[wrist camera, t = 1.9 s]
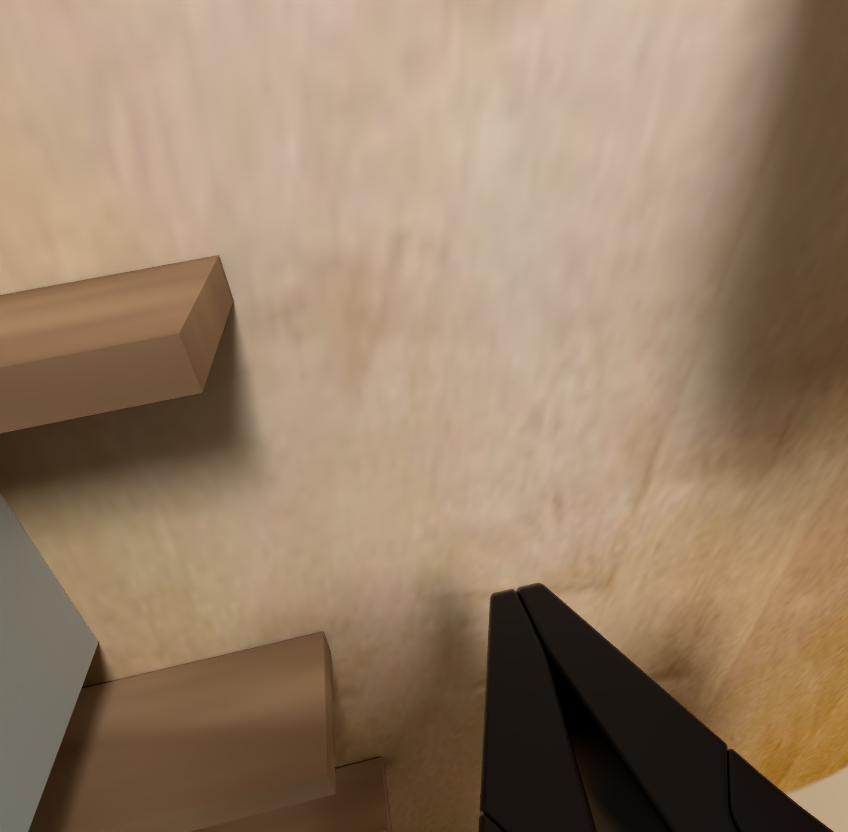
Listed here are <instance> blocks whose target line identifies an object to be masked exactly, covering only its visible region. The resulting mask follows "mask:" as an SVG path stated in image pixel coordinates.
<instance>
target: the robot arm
mask: <svg viewBox="0 0 848 832" xmlns="http://www.w3.org/2000/svg"><path fill="white" fill-rule="evenodd" d="M480 814H481V815H480V817H479V830H478V832H833V831H832V830H831V829H829V828H828V827H827V826H825V825H824V824H823V823H821V822H820V821H819V820H818V819H816V818H815V817H814V816H812V815H811V814H810V813H808V812H807V811H806V810H804V809H803V808H802V807H801V806H799V805H798V804H797V803H796V802H794V801H793V800H792V799H791V798H790V797H788V796H787V795H786V794H785V793H784V792H782V791H781V790H780V789H779V788H778V787H776V786H775V785H774V784H773V783H771V782H770V781H769V780H768V779H767V778H765V777H764V776H763V775H762V774H761V773H759V772H758V771H757V770H756V769H755V768H754V767H753V766H751V765H750V764H749V763H748V762H747V761H746V760H745V759H743V758H742V757H741V756H740V755H739V754H738V753H737V752H736V751H734V750H733V749H729V750H728V747H727V744H726V743H725V742H724V741H723V740H721V739H720V738H719V737H718V736H717V735H716V734H714V733H713V732H712V731H711V730H710V729H709V728H708V727H706V726H705V725H704V724H703V723H702V722H701V721H700V720H698V719H697V718H696V717H695V716H694V715H693V714H692V713H690V712H689V711H688V710H687V709H686V708H685V707H683V706H682V705H681V704H680V703H679V702H678V701H677V700H675V699H674V698H673V697H672V696H671V695H670V694H669V693H667V692H666V691H665V690H664V689H663V688H662V687H661V686H659V685H658V684H657V683H656V682H655V681H654V680H652V679H651V678H650V677H649V676H648V675H647V674H646V673H644V672H643V671H642V670H641V669H640V668H639V667H638V666H636V665H635V664H634V663H633V662H632V661H631V660H630V659H628V658H627V657H626V656H625V655H624V654H623V653H621V652H620V651H619V650H618V649H617V648H616V647H615V646H613V645H612V644H611V643H610V642H609V641H608V640H607V639H605V638H604V637H603V636H602V635H601V634H600V633H599V632H597V631H596V630H595V629H594V628H593V627H592V626H590V625H589V624H588V623H587V622H586V621H585V620H584V619H582V618H581V617H580V616H579V615H578V614H577V613H576V612H574V611H573V610H572V609H571V608H570V607H569V606H567V605H566V604H565V603H564V602H563V601H562V600H561V599H559V598H558V597H557V596H556V595H555V594H554V593H553V592H551V591H550V590H549V589H548V588H547V587H546V586H544V585H543V584H541V583H535V584H531V585H526V586H522V587H519V588H518V589H517V591H515V590H513V589H509V590H505V591H501V592H497V593H493V594H492V595H491V597H490V610H489V631H488V651H487V672H486V692H485V713H484V733H483V754H482V775H481V795H480Z"/></svg>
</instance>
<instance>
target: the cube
mask: <svg viewBox="0 0 848 832" xmlns="http://www.w3.org/2000/svg"><path fill="white" fill-rule="evenodd" d="M97 645H98V640H97V639H96V637H95V636H94V634H93V633H92V631H91V630H90V628H89V627H88V625H87V624H86V622H85V621H84V619H83V618H82V616H81V615H80V613H79V611H78V610H77V608H76V607H75V605H74V604H73V602H72V601H71V599H70V598H69V596H68V595H67V593H66V592H65V590H64V589H63V587H62V586H61V584H60V583H59V581H58V580H57V578H56V577H55V575H54V574H53V572H52V571H51V569H50V568H49V566H48V565H47V563H46V562H45V560H44V559H43V557H42V556H41V554H40V553H39V551H38V550H37V548H36V547H35V545H34V544H33V542H32V541H31V539H30V538H29V536H28V535H27V533H26V532H25V530H24V528H23V527H22V525H21V524H20V522H19V521H18V519H17V518H16V516H15V515H14V513H13V512H12V510H11V509H10V507H9V506H8V504H7V503H6V501H5V500H4V498H3V497H2V495H1V494H0V832H28V831H29V828H30V825H31V823H32V820H33V817H34V815H35V812H36V809H37V806H38V804H39V801H40V798H41V796H42V793H43V790H44V788H45V785H46V782H47V780H48V777H49V774H50V771H51V769H52V766H53V763H54V761H55V758H56V755H57V753H58V750H59V747H60V745H61V742H62V739H63V736H64V734H65V731H66V728H67V726H68V723H69V720H70V718H71V715H72V712H73V710H74V707H75V704H76V701H77V699H78V696H79V693H80V691H81V688H82V685H83V683H84V680H85V677H86V675H87V672H88V669H89V666H90V664H91V661H92V658H93V656H94V653H95V650H96V648H97Z"/></svg>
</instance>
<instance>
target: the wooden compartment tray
mask: <svg viewBox="0 0 848 832" xmlns="http://www.w3.org/2000/svg"><path fill="white" fill-rule="evenodd" d="M232 304H233V298H232V294H231V291H230V288H229V285H228V282H227V279H226V276H225V273H224V270H223V267H222V263H221V260H220V257H219V255H218V256H213V257H207V258H202V259H196V260H191V261H185V262H180V263H174V264H169V265H163V266H158V267H152V268H147V269H141V270H136V271H130V272H125V273H120V274H114V275H109V276H103V277H98V278H92V279H87V280H81V281H76V282H70V283H65V284H59V285H54V286H48V287H43V288H37V289H32V290H26V291H21V292H16V293H10V294H5V295H0V433H5V432H10V431H15V430H20V429H25V428H30V427H35V426H40V425H45V424H50V423H55V422H60V421H65V420H69V419H74V418H79V417H84V416H89V415H94V414H99V413H104V412H109V411H114V410H119V409H124V408H129V407H134V406H139V405H144V404H149V403H154V402H159V401H164V400H169V399H174V398H179V397H184V396H189V395H194V394H199V393H202V392H203V389H204V386H205V383H206V380H207V377H208V375H209V372H210V369H211V366H212V363H213V360H214V357H215V354H216V351H217V348H218V345H219V342H220V339H221V336H222V333H223V330H224V327H225V324H226V321H227V318H228V315H229V312H230V310H231V307H232ZM28 832H392V826H391V817H390V808H389V799H388V790H387V781H386V772H385V768H384V765H383V762H382V759H381V757H380V758H376V759H372V760H368V761H364V762H360V763H356V764H352V765H348V766H344V767H340V768H336V769H335V757H334V731H333V705H332V679H331V653H330V649H329V646H328V643H327V641H326V638H325V635H324V632H320V633H316V634H312V635H308V636H303V637H299V638H295V639H291V640H286V641H282V642H278V643H274V644H269V645H265V646H261V647H257V648H252V649H248V650H244V651H240V652H235V653H231V654H227V655H222V656H218V657H214V658H210V659H205V660H201V661H197V662H193V663H188V664H184V665H180V666H176V667H171V668H167V669H163V670H159V671H154V672H150V673H146V674H142V675H137V676H133V677H129V678H125V679H120V680H116V681H112V682H108V683H103V684H99V685H95V686H90V687H86V688H82V689H81V691H80V693H79V696H78V699H77V701H76V704H75V707H74V710H73V712H72V715H71V718H70V720H69V723H68V726H67V728H66V731H65V734H64V736H63V739H62V742H61V745H60V747H59V750H58V753H57V755H56V758H55V761H54V763H53V766H52V769H51V771H50V774H49V777H48V780H47V782H46V785H45V788H44V790H43V793H42V796H41V798H40V801H39V804H38V806H37V809H36V812H35V815H34V817H33V820H32V823H31V825H30V828H29V831H28Z"/></svg>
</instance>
